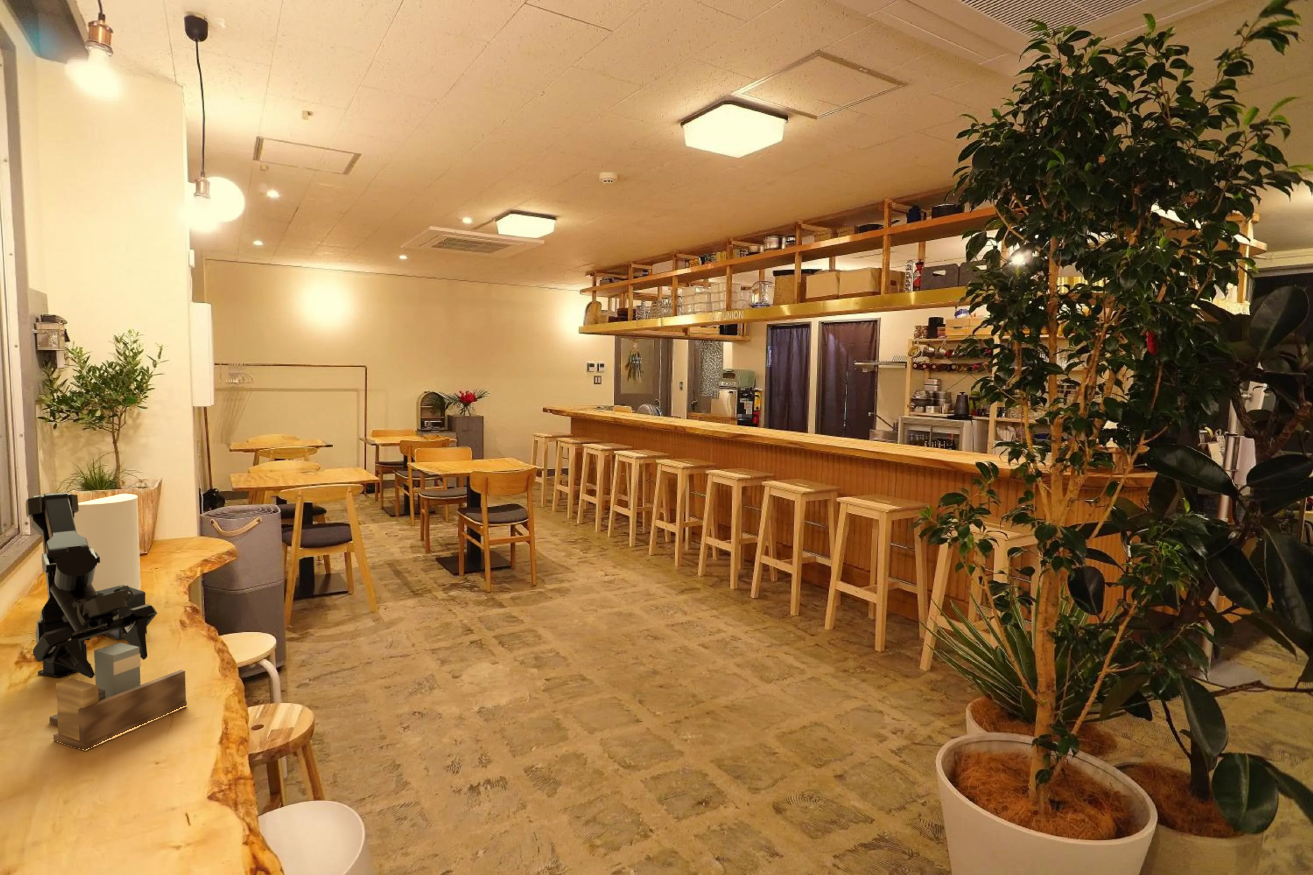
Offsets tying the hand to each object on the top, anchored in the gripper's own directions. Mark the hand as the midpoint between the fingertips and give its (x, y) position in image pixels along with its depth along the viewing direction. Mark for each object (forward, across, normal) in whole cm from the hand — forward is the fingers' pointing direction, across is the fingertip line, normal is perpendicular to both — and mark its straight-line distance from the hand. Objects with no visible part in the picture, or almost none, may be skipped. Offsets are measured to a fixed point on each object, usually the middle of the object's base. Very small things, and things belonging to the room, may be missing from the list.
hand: (120, 667), depth 131 cm
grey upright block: (+5, 0, +6) cm, 8 cm away
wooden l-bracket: (+7, -3, +6) cm, 9 cm away
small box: (-23, +26, +36) cm, 50 cm away
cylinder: (-45, +41, +58) cm, 84 cm away
